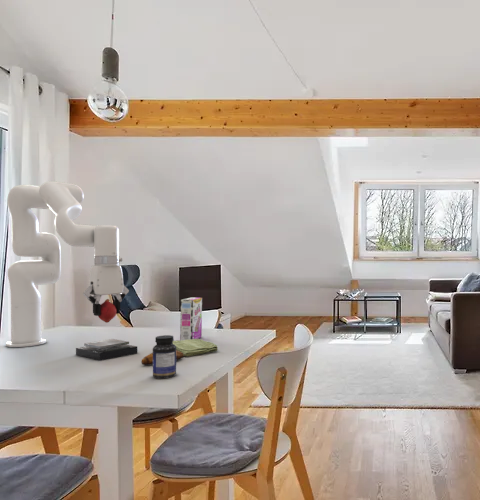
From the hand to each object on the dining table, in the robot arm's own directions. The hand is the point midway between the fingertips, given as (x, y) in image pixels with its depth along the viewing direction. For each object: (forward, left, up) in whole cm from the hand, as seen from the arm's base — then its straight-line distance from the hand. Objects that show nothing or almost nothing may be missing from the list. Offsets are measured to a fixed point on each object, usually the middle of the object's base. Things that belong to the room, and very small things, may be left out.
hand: (106, 313), depth 162 cm
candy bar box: (+2, +33, -14) cm, 36 cm away
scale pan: (0, 0, -10) cm, 10 cm away
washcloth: (+20, +19, -14) cm, 31 cm away
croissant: (+27, +3, -14) cm, 31 cm away
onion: (0, 0, -3) cm, 3 cm away
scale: (0, 0, -14) cm, 14 cm away
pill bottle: (+42, -7, -14) cm, 45 cm away
